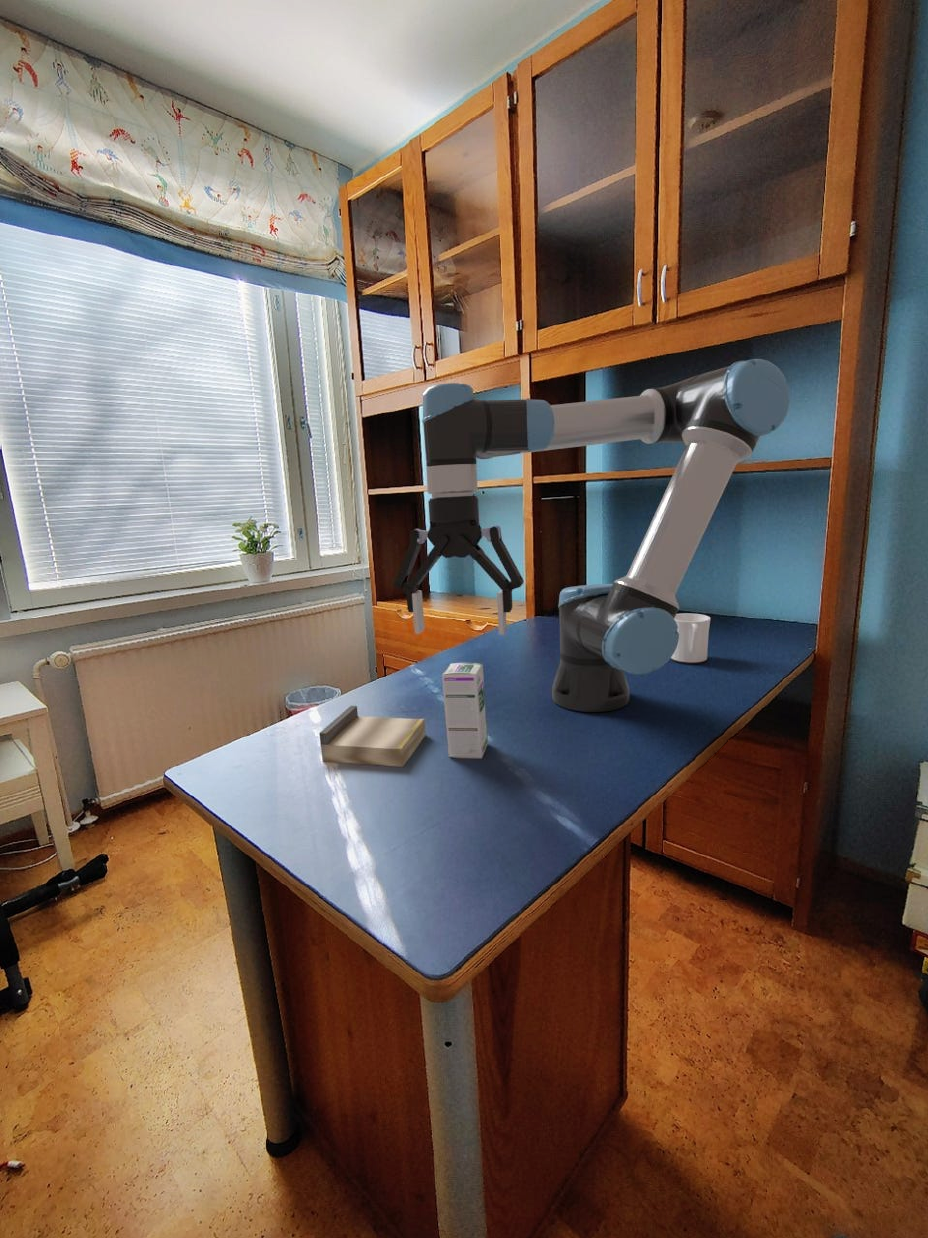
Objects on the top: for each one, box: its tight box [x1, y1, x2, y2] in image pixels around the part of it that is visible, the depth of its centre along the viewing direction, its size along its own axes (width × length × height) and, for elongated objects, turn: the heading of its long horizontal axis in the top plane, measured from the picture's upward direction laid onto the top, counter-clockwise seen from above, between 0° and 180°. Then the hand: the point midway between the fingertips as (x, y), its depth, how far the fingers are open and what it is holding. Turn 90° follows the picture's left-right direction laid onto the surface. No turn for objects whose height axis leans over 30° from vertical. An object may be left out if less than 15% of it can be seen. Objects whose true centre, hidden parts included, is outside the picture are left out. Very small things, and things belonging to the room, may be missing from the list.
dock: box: [319, 705, 427, 768], centre depth 98 cm, size 14×12×5 cm
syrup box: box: [441, 662, 489, 759], centre depth 94 cm, size 6×6×14 cm
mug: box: [670, 612, 711, 666], centre depth 134 cm, size 11×9×10 cm
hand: (460, 632), depth 91 cm, fingers open, 13 cm apart
